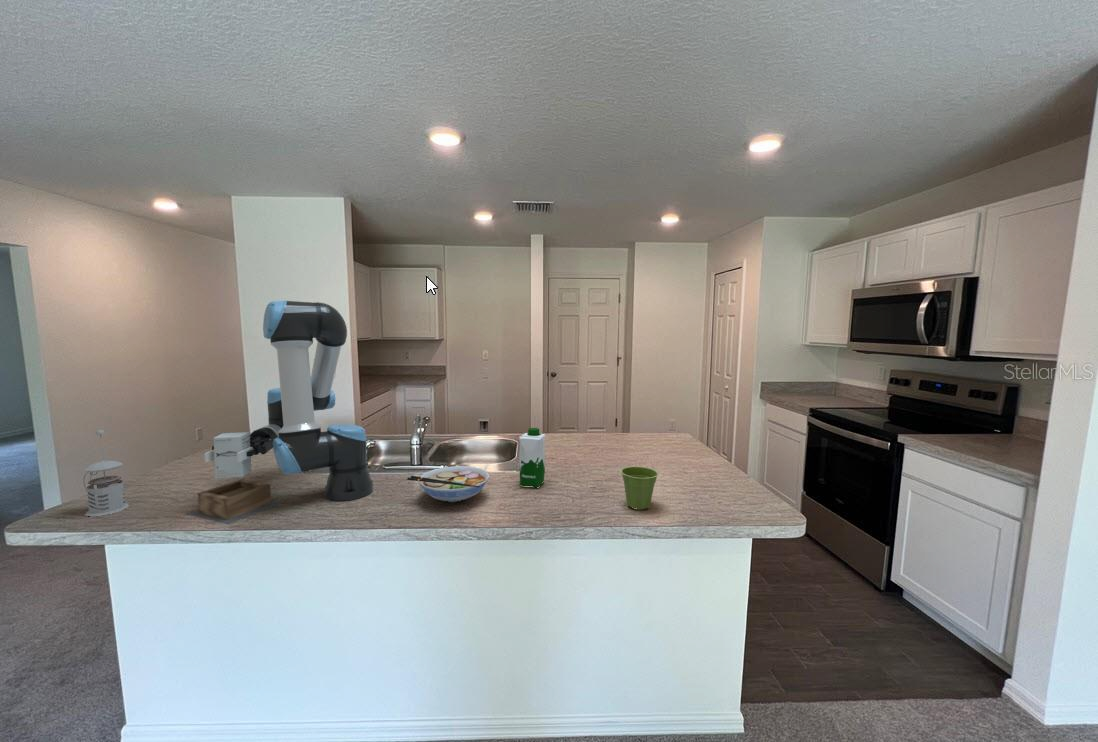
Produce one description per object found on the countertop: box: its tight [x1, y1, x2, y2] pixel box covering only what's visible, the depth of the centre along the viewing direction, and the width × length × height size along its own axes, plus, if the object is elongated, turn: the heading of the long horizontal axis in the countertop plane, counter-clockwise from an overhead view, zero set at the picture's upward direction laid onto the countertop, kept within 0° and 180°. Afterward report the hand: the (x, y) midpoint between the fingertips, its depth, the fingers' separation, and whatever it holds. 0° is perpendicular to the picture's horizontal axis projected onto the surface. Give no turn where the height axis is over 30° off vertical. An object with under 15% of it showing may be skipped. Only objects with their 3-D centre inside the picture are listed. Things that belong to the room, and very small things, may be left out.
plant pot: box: [620, 465, 659, 510], centre depth 137 cm, size 12×12×11 cm
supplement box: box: [213, 431, 252, 480], centre depth 132 cm, size 7×7×13 cm
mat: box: [185, 498, 284, 525], centre depth 133 cm, size 19×17×1 cm
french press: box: [82, 429, 130, 517], centre depth 131 cm, size 10×12×25 cm
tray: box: [197, 478, 272, 520], centre depth 133 cm, size 13×13×6 cm
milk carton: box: [518, 427, 546, 487], centre depth 155 cm, size 9×9×20 cm
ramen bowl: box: [406, 465, 490, 503], centre depth 143 cm, size 25×23×8 cm
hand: (222, 457), depth 127 cm, fingers closed on supplement box, 8 cm apart
